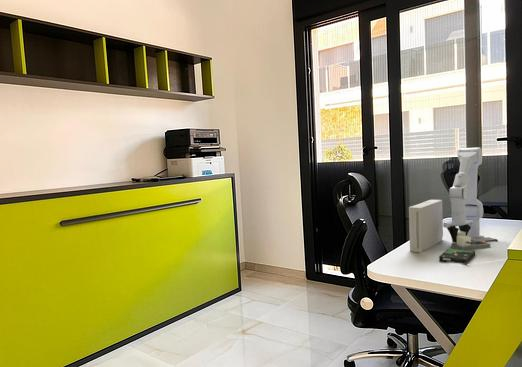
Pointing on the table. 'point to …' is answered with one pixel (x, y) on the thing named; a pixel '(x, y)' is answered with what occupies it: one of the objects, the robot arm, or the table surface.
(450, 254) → the disk drive
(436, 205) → the game console
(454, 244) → the grey double frame
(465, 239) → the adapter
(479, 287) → the table surface
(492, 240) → the phone
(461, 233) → the block
